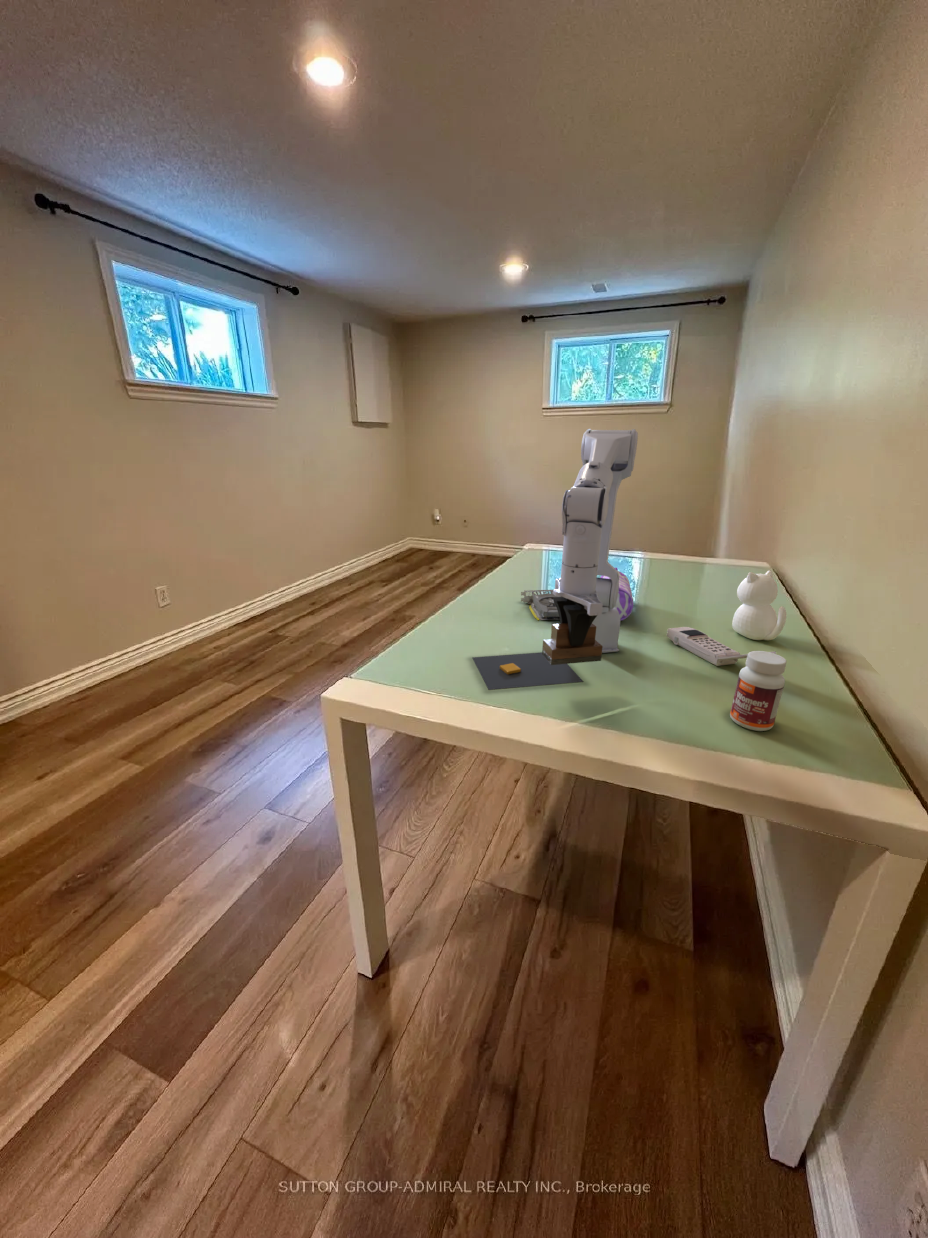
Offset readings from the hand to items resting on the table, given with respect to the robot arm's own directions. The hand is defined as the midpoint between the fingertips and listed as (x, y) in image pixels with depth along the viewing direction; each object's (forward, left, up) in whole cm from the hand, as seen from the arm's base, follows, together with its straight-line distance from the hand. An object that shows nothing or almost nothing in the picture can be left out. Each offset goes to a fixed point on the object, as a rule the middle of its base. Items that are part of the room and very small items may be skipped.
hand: (572, 641), depth 84 cm
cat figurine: (-53, -17, -10) cm, 57 cm away
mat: (+5, -9, -10) cm, 14 cm away
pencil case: (-29, -40, -10) cm, 51 cm away
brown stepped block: (0, 0, -3) cm, 3 cm away
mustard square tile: (+8, -9, -9) cm, 15 cm away
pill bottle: (-25, +15, -10) cm, 31 cm away
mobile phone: (-35, -9, -10) cm, 38 cm away
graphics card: (-12, -42, -10) cm, 45 cm away
